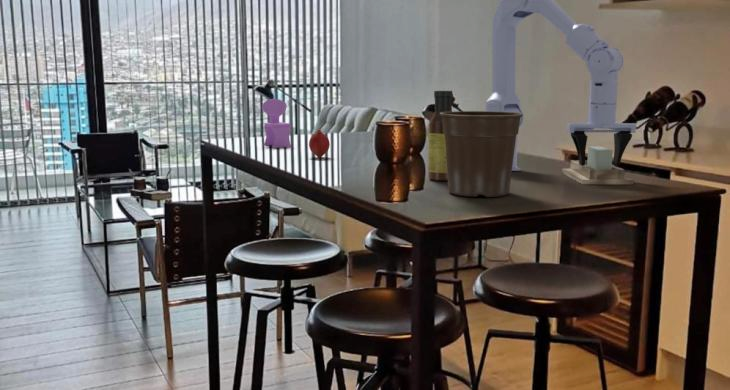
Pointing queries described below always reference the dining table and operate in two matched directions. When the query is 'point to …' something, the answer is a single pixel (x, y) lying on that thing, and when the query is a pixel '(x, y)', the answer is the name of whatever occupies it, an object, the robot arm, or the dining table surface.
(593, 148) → the pale teal block
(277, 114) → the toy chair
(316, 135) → the onion
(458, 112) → the plant pot
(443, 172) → the sauce bottle
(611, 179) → the beige rectangular tray
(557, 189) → the dining table surface
